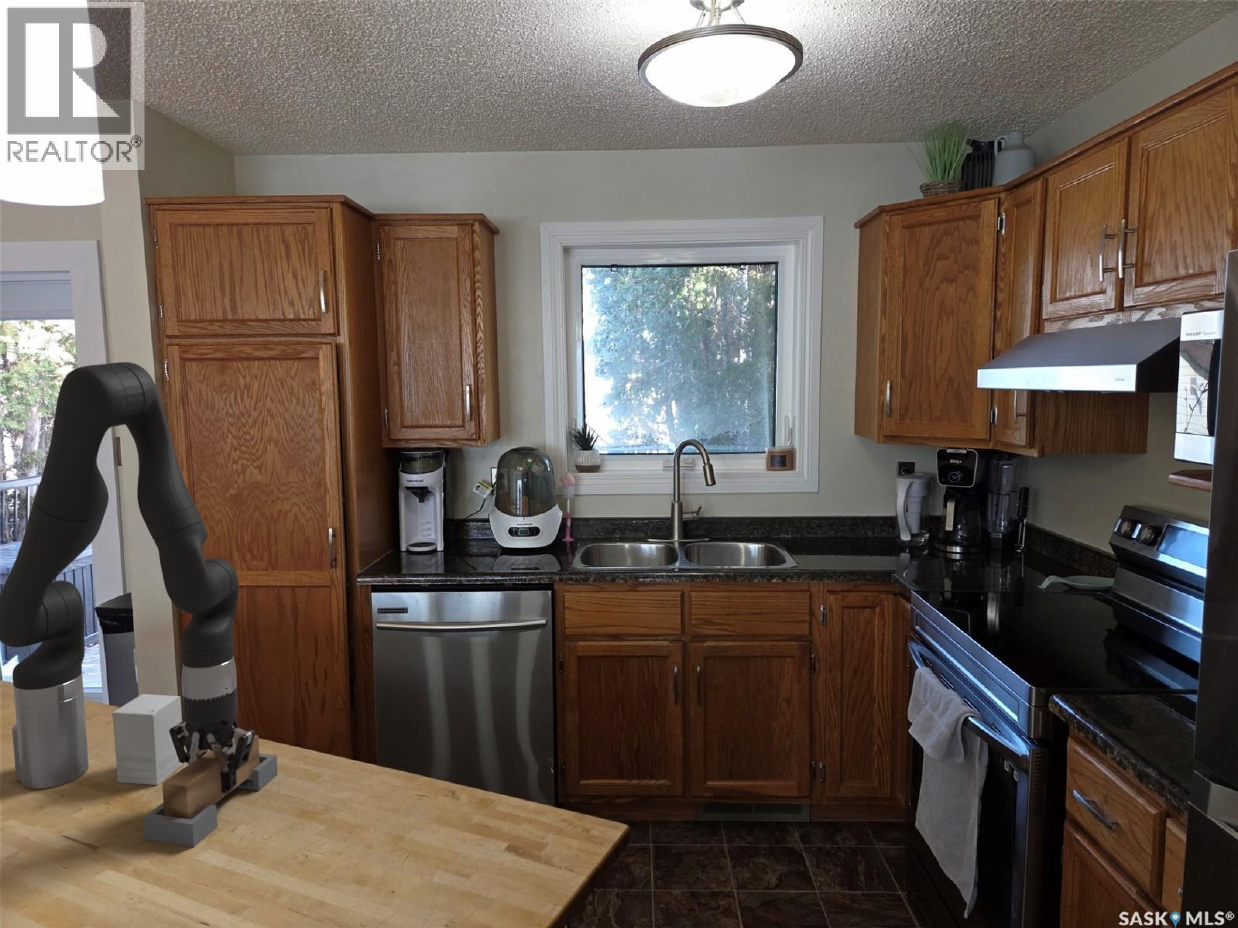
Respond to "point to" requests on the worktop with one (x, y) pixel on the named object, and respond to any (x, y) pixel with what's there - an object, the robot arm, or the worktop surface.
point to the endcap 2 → (261, 773)
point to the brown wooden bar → (202, 784)
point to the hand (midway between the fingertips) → (215, 788)
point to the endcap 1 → (179, 827)
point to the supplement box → (146, 739)
